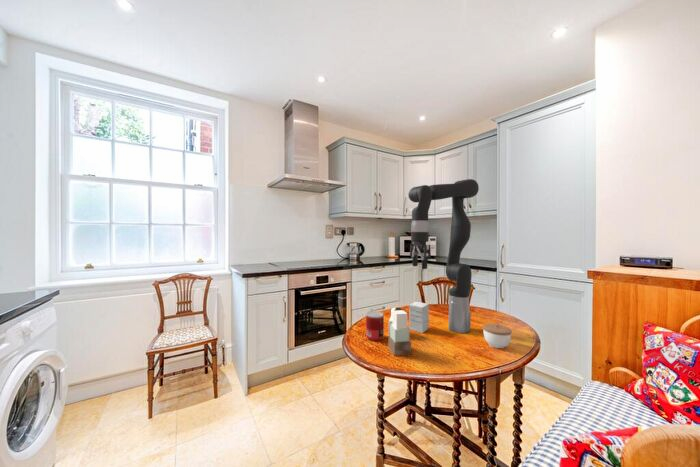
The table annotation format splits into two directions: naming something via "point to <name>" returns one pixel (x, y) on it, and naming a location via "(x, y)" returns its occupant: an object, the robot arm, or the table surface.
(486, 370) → the table surface
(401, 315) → the cream block
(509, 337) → the lidded jar
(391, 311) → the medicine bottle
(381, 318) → the canned food
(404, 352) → the walnut base block
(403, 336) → the sage block
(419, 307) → the supplement box
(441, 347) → the table surface
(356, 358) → the table surface
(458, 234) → the robot arm
